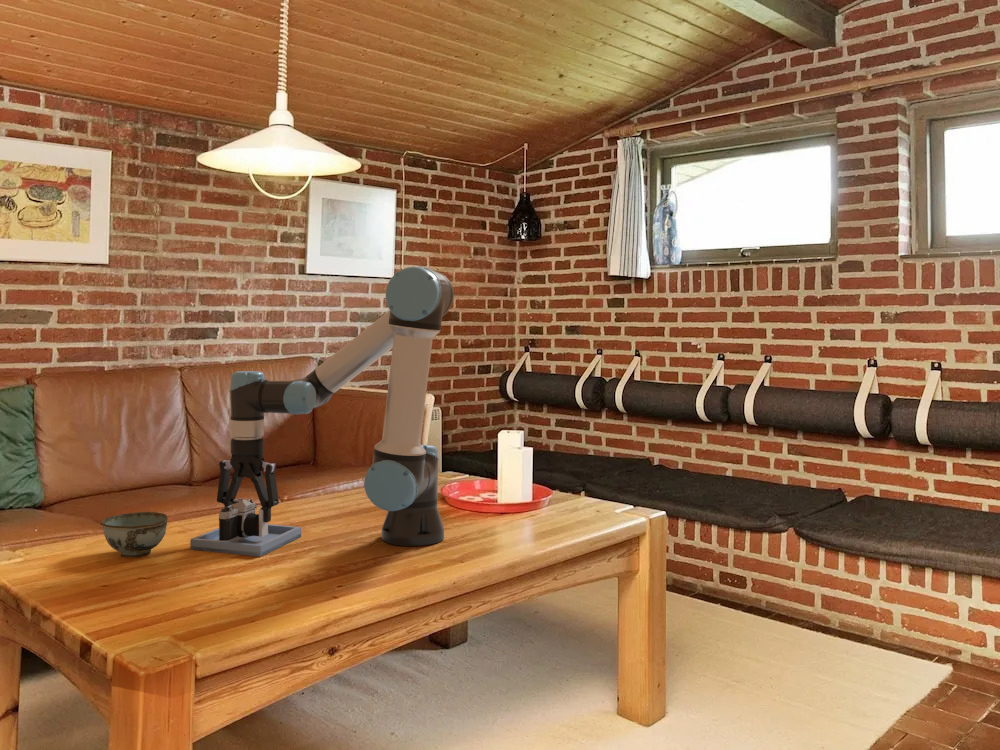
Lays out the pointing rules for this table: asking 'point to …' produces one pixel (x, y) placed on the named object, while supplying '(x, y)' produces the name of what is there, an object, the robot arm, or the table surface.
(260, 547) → the tray
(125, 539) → the bowl
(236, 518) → the camera
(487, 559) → the table surface
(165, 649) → the table surface
